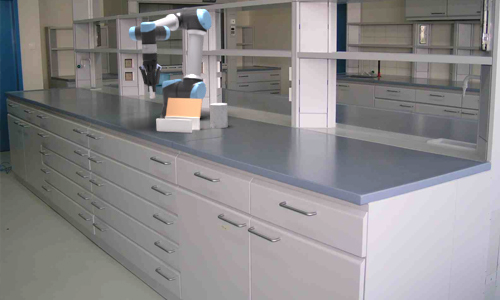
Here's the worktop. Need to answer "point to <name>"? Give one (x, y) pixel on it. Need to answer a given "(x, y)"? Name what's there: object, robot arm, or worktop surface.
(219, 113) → the grey concrete cylinder
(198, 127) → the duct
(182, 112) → the duct cover
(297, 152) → the worktop surface
